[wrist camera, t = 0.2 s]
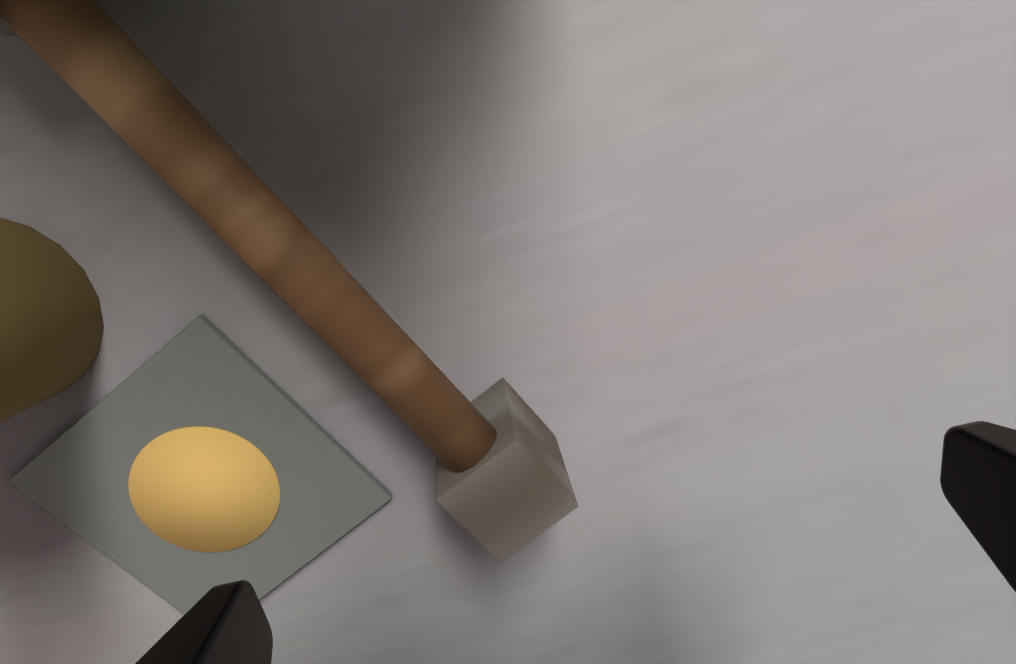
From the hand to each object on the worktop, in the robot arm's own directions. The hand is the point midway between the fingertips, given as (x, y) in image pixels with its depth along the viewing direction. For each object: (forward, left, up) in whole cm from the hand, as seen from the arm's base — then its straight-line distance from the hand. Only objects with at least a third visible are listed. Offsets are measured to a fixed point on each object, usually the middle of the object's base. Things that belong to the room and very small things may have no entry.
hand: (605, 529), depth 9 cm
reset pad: (-6, +11, -14) cm, 19 cm away
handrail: (+2, +6, -14) cm, 16 cm away
